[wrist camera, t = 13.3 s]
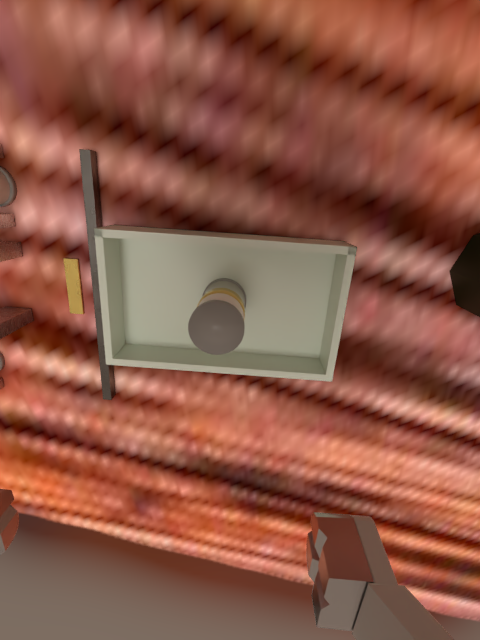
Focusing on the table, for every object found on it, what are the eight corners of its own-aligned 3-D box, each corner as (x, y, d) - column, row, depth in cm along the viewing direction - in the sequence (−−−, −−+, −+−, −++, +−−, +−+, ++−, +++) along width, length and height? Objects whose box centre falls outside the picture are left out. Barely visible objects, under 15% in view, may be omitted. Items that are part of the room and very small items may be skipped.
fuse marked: (203, 276, 28) (188, 300, 21) (247, 279, 28) (246, 304, 21) (202, 318, 29) (187, 352, 23) (244, 321, 29) (242, 356, 23)
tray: (113, 224, 27) (94, 228, 24) (344, 241, 27) (357, 247, 24) (121, 346, 31) (106, 364, 28) (323, 361, 31) (331, 381, 28)
